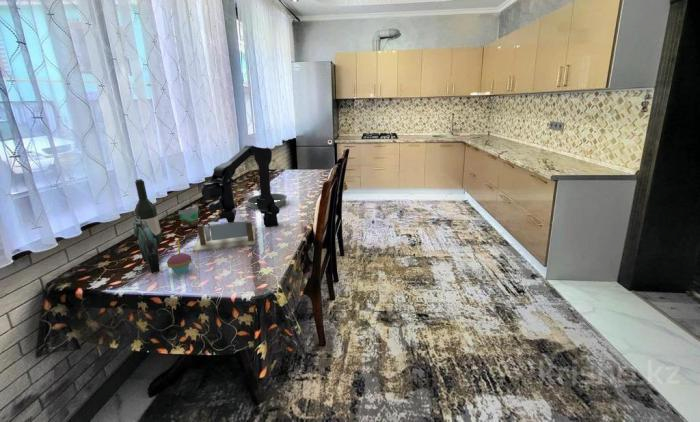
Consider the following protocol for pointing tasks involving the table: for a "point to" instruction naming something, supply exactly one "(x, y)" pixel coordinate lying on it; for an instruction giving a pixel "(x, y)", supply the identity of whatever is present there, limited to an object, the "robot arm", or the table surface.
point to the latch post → (249, 230)
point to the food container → (189, 216)
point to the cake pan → (275, 197)
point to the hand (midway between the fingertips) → (231, 227)
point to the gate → (225, 230)
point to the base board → (224, 243)
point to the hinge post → (201, 234)
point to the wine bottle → (147, 210)
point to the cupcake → (179, 262)
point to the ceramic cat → (147, 244)
